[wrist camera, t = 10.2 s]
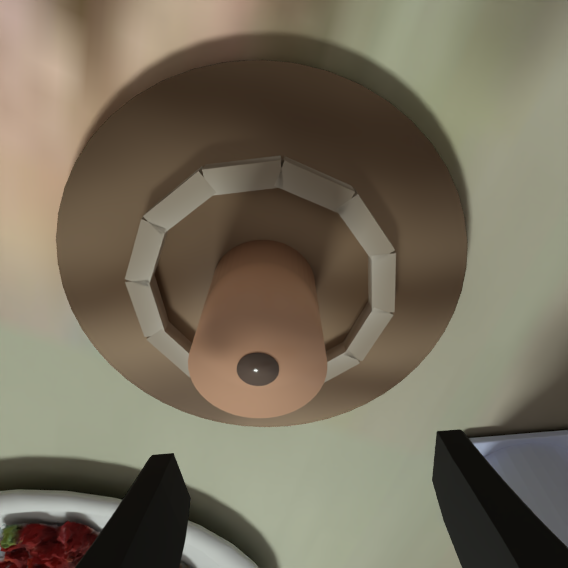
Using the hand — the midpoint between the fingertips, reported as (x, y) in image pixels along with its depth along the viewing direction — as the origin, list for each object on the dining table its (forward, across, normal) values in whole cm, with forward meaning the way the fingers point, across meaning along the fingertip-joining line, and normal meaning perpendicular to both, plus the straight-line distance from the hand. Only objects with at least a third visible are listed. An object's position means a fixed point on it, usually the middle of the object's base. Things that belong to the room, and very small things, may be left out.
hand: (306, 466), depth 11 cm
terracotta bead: (+8, +1, -1) cm, 9 cm away
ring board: (+9, +1, -1) cm, 9 cm away
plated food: (+10, +20, +26) cm, 34 cm away
